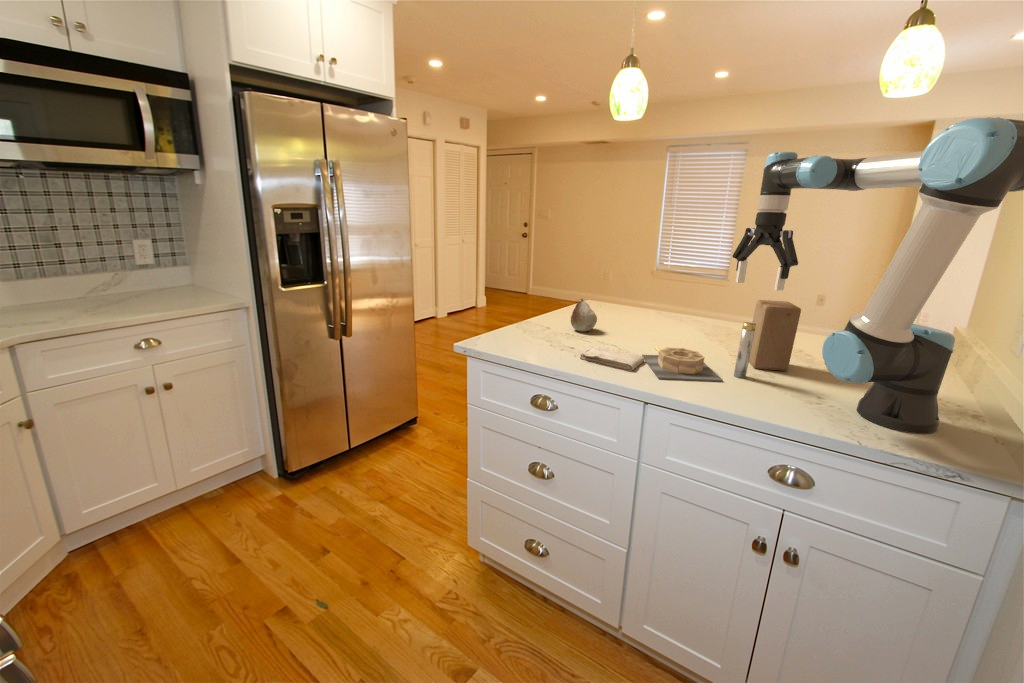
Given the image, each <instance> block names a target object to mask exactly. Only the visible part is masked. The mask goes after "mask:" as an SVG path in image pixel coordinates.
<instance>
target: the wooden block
mask: <svg viewBox="0 0 1024 683" xmlns="http://www.w3.org/2000/svg"><path fill="white" fill-rule="evenodd" d="M801 314H802V309H801V307H799V306H797V305H795V304H794V303H791V302H790V301H785V300H772V299H771V300H767V299H766V300H765V299H759V300H756V302H755V308H754V312H753V318H752V322H751V323H754V324H756V328H755V332H754V337H753V342H752V348H751V353H750V358H749V363H748V364H750V365H751V367H753V368H755V369H758V370H768V371H769V370H770V371H781V372H786V371H788V370H789V366H790V361H791V357H792V352H793V349H794V344H795V339H796V334H797V330H798V325H799V321H800V317H801Z"/></svg>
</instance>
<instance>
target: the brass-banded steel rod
mask: <svg viewBox="0 0 1024 683" xmlns="http://www.w3.org/2000/svg"><path fill="white" fill-rule="evenodd" d="M755 328H756V324H754V323H752V322H747V321H745V322H742V327H741V333H740V340H739V345H738V351H737V354H736V362H735V366H734V373H733V377H735V378H737V379H746V378H747V371H748V368H749V364H750V363H749V358H750V353H751V348H752V342H753V337H754V332H755Z"/></svg>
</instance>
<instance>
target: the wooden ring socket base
mask: <svg viewBox="0 0 1024 683" xmlns="http://www.w3.org/2000/svg"><path fill="white" fill-rule="evenodd" d="M641 356H643V357H644V361H645V363H646V364H647V365H648V367H649V368H650V370H651V371H652V372H653V373H654V375H655V376H656V378H657V379H658V380H667V381H668V380H670V381H691V382H692V381H693V382H694V381H696V382H713V383H714V382H720V383H723V381H724V380H723V378H722V377H720V376H719V375H718V374H717V373H716V372H715V371H714V370H713V369H712V368H710V367H709V366H708V365H707V364H706V363H705V362H704V361H705V356H703V354H702V353H701V352H699V351H697V350H692V349H688V348H685V347H666V348H663V349H660V350H659V352H658V354H641Z"/></svg>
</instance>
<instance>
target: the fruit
mask: <svg viewBox="0 0 1024 683" xmlns="http://www.w3.org/2000/svg"><path fill="white" fill-rule="evenodd" d="M597 320H598V316H597V315H596V313H595V311H594V310H593V309H592V308H591V306H590V304H588V302H587V301H584V298H580V301H578V302H577V303H576V304H575V306H574V309H573V311H572V313H571V315H570V324H571V327H572V328H573V330H575V331H577V332H582V333H583V332H589V331H591V330H593V328H594V327H595V326H596V325H597V322H598V321H597Z"/></svg>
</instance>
